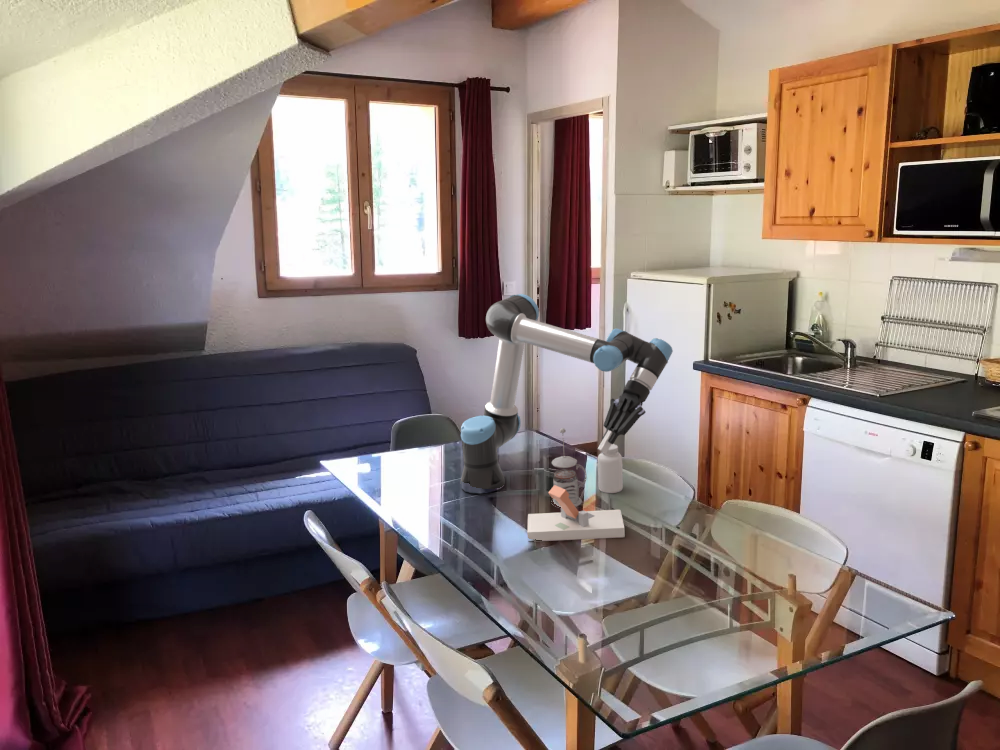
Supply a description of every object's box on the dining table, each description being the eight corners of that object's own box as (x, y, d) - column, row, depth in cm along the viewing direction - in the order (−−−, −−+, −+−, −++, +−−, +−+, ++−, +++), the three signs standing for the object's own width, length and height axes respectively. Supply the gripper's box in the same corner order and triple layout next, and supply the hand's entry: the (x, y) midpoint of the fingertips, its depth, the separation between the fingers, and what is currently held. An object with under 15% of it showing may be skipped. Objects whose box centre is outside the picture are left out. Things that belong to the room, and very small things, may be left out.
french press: (550, 496, 263) (546, 424, 256) (586, 494, 262) (582, 421, 255) (551, 509, 253) (547, 434, 246) (588, 507, 252) (585, 432, 246)
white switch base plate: (528, 541, 233) (526, 519, 231) (528, 523, 245) (527, 502, 243) (624, 537, 232) (623, 515, 230) (620, 518, 243) (619, 497, 241)
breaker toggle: (573, 511, 240) (554, 484, 233) (585, 517, 236) (565, 489, 229) (567, 519, 239) (548, 492, 232) (579, 524, 235) (559, 497, 228)
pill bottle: (622, 494, 260) (621, 450, 256) (597, 493, 261) (595, 450, 257) (623, 484, 267) (622, 441, 263) (599, 483, 269) (597, 441, 265)
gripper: (662, 396, 241) (624, 463, 236) (630, 387, 251) (593, 451, 247) (649, 383, 237) (610, 451, 232) (617, 374, 247) (579, 439, 242)
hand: (601, 451), depth 239 cm, fingers closed
